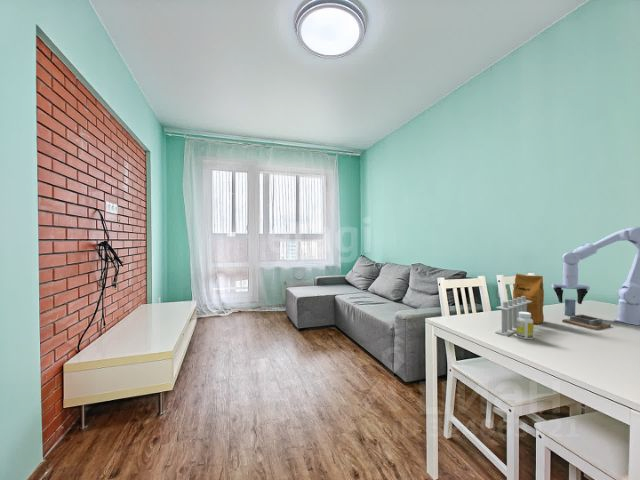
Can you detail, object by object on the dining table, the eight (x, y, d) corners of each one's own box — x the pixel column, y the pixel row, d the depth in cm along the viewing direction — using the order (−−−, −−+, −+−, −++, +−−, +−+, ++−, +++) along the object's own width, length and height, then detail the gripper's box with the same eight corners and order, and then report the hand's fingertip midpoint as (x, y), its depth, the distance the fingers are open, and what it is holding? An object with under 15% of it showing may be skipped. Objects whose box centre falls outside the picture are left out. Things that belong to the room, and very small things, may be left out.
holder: (577, 318, 135) (577, 312, 135) (610, 326, 124) (610, 319, 124) (562, 321, 131) (562, 315, 130) (595, 330, 119) (595, 323, 119)
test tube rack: (507, 336, 113) (507, 304, 112) (495, 333, 116) (495, 301, 116) (532, 325, 127) (532, 296, 126) (521, 322, 130) (521, 294, 130)
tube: (567, 313, 144) (567, 298, 144) (577, 315, 140) (577, 300, 140) (562, 314, 142) (563, 299, 142) (572, 316, 138) (572, 300, 138)
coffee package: (516, 315, 142) (517, 272, 141) (547, 321, 131) (547, 274, 131) (508, 318, 136) (508, 273, 136) (538, 325, 126) (539, 276, 125)
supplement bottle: (532, 336, 113) (532, 312, 113) (534, 340, 108) (534, 315, 108) (515, 333, 115) (516, 310, 115) (517, 338, 111) (517, 313, 111)
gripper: (584, 275, 142) (583, 302, 142) (549, 274, 147) (549, 300, 147) (592, 277, 135) (591, 305, 136) (555, 276, 140) (554, 303, 141)
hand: (569, 303), depth 141 cm, fingers open, 7 cm apart
